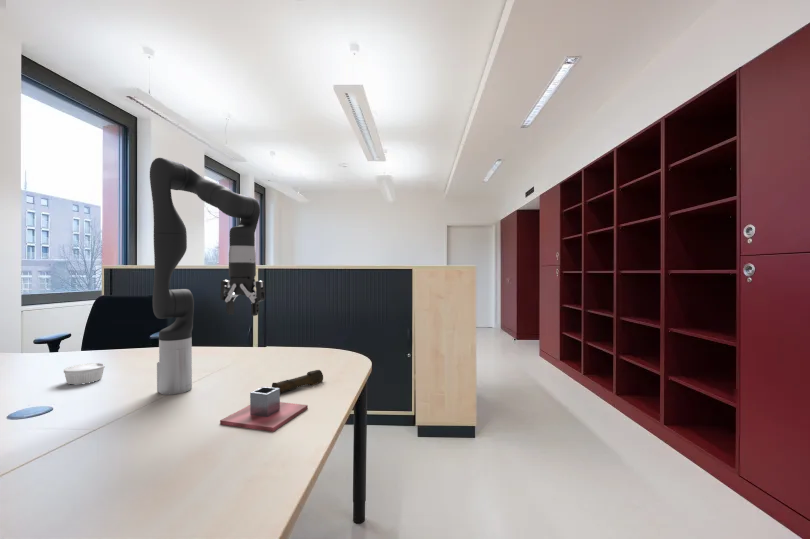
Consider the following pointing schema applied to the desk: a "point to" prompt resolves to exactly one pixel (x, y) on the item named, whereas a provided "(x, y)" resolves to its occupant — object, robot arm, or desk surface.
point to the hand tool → (300, 381)
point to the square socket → (264, 401)
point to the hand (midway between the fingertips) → (242, 314)
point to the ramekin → (84, 373)
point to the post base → (264, 423)
